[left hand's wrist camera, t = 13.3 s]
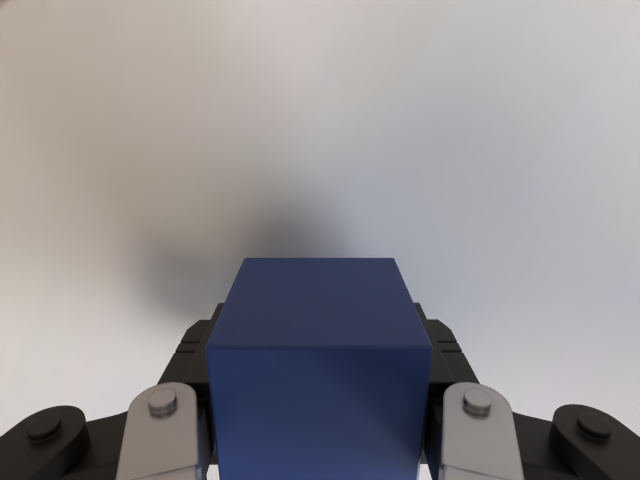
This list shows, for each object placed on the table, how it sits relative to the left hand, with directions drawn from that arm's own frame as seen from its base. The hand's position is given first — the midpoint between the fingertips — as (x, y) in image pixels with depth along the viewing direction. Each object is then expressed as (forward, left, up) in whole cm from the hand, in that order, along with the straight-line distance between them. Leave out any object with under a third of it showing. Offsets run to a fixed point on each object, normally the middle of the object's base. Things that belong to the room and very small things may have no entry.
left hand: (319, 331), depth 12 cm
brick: (0, 0, 0) cm, 1 cm away
